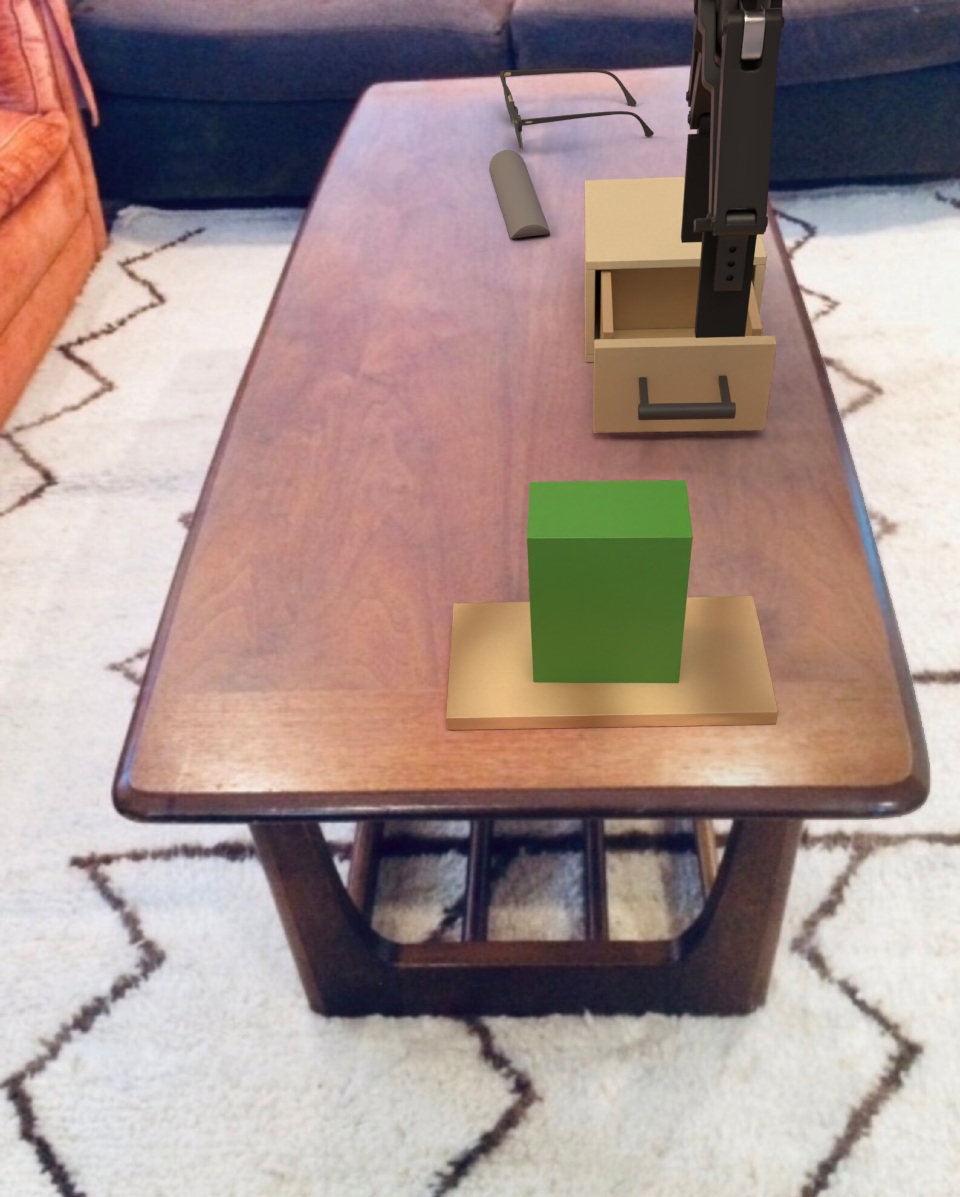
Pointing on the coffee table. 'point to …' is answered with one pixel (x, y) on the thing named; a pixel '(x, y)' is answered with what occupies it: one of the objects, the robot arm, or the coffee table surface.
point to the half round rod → (517, 195)
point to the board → (702, 697)
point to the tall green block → (608, 579)
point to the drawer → (674, 359)
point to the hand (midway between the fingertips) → (710, 283)
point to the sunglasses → (522, 122)
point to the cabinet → (639, 237)
